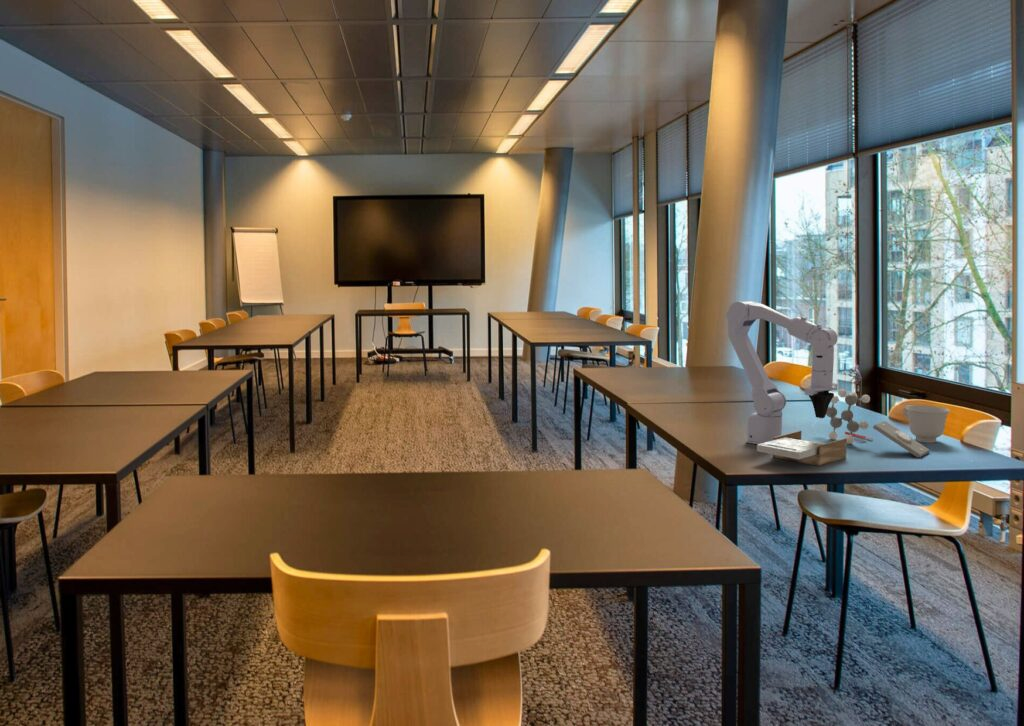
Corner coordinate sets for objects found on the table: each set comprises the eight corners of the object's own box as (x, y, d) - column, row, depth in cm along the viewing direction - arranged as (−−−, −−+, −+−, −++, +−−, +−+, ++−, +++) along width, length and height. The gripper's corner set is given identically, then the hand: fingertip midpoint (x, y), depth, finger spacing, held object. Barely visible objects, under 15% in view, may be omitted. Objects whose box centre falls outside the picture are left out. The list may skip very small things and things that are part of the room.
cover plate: (756, 451, 212) (756, 444, 211) (784, 443, 220) (784, 436, 220) (799, 459, 202) (799, 452, 202) (826, 451, 211) (826, 444, 211)
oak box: (772, 457, 219) (773, 437, 218) (799, 449, 228) (799, 430, 227) (820, 466, 208) (821, 445, 207) (845, 458, 217) (846, 438, 216)
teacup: (917, 433, 249) (919, 402, 247) (957, 443, 235) (959, 410, 233) (887, 436, 245) (889, 404, 244) (926, 446, 231) (928, 413, 230)
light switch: (922, 452, 216) (876, 422, 224) (910, 469, 218) (865, 438, 226) (932, 447, 222) (886, 417, 230) (920, 463, 224) (875, 433, 232)
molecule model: (887, 453, 234) (900, 402, 233) (848, 444, 228) (862, 392, 228) (838, 440, 252) (850, 392, 252) (801, 431, 246) (813, 383, 246)
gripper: (822, 374, 215) (820, 422, 216) (848, 369, 224) (846, 416, 226) (799, 371, 220) (797, 419, 222) (825, 367, 229) (823, 413, 231)
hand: (820, 417), depth 224 cm, fingers closed
